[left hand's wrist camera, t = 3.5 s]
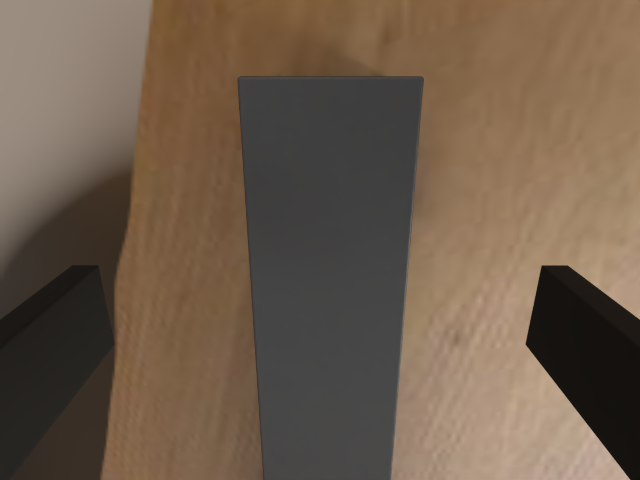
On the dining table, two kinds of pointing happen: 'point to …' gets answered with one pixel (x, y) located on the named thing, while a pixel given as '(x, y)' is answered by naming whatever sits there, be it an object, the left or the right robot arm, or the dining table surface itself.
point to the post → (329, 265)
